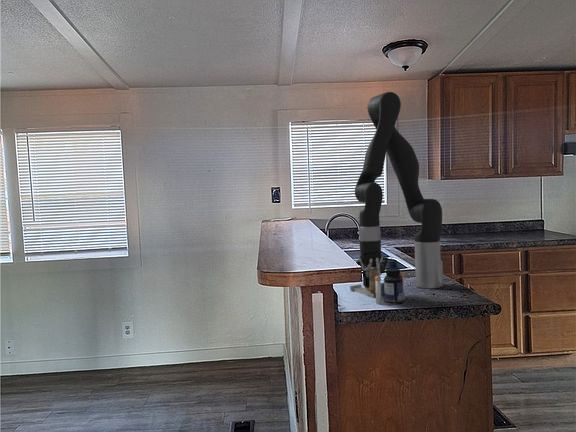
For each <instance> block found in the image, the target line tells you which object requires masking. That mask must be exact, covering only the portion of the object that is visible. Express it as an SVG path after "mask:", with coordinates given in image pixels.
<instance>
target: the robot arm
mask: <svg viewBox="0 0 576 432" xmlns="http://www.w3.org/2000/svg"><path fill="white" fill-rule="evenodd" d="M401 102H402V101H401V99H400V96H399V95H398V94H397V93H395V92H394V91H387V92H384V93H381V94H378V95H376V96H373V97H371V98H370V99H369V101H368V103H367V109H366V110H367V113H368V116H369V118H370V120H371V122H372V124H373V125H374V128H375V129H376V130H375V132H374V134H373V137H372V139H371V141H370V143H369V144H368V146H367V149H366V152H365V156H364V161H363V166H362V171H361V172H360V175H359V177H358V179H357V182H356V185H355V188H354V195H355V198H356V200H357V201H358V202H360V203H365V204H364V208H363V209H362V210H360V211H359V217H358V218H359V220H358V221H359V233H358V235H359V236H358V237H359V238H358V239H359V252H360V255H359V258H358V259H357V260H355V259H354V260H353V261H355V262H356V263H357V264H358V265H360V266H361V267H362V271H363V277H362V284H363V286H364V287H363V288H369V271H370V270H371V268H374V269H378V272H379V276H380V277H381V276H382V275H383V274H386V269H387V265H388V260H389V258H388V257H387V256H382V253H381V252H382V235H381V227H380V226H381V223H380V222H381V221H380V212H381V208H382V203H383V197H384V194H383V188H382V187H381V185H380V184H379V183H377V182H376V180H377V179H378V178H380V177H381V176H382V174H383V170H384V167H385V166H384V165H385V162H386V155H388V159H389V161H390V164H391V166H392V168H393V171H394V173H395V175H396V178H397V181H398V183H399V186H400V188H401V191H402V194H403V196H404V200H405V204H406V207H407V212H408V214H409V216H410V218H411V219H412V220H413V221H414V222H415V223H418V224H421V229H420V230H419V231H418V232H416V233H415V234H414V237H413V238H414V242H413V243H414V268H415V272H414V273H415V287H417V288H419V289H437V288H441V287H443V286H444V269H443V264H444V263H443V260H441V236H442V230H443V208H442V206H441V203H440V201H438V200H437V199H435V198H434V199H433V198H424V195H423V194H422V192H421V188H420V186H419V175H420V163H419V159H418V157H417V155H416V152H415V150H414V148H413V146H412V145H411V144H410V142H409V141H408V140H407V139H406V138H405V137H404V136H403V135H402V134H401V133H400V132H399V131H398V129H397V127H396V126H395V125H396V122H397V121H398V117H399V115H400V112H401V107H402V104H401Z"/></svg>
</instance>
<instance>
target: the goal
mask: <svg viewBox="0 0 576 432" xmlns="http://www.w3.org/2000/svg"><path fill="white" fill-rule="evenodd" d="M400 276H401V277H402V279H403V301H404V300H406V285H405V284H406V282H405V276H406V274H405V272H404V271H400ZM375 281H376V297H375V300H376V301H375V303H376V305H382V297H381V283H382V282H381V281H382V277H381V275H380V276H376V277H375Z"/></svg>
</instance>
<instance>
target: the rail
mask: <svg viewBox="0 0 576 432" xmlns="http://www.w3.org/2000/svg"><path fill="white" fill-rule="evenodd" d="M363 288H364V287H363V286H362V284H356V285H355V284H354V285H350V286H349V289H350V290H351V291H350V290H349V291H350V292H355V291H356V293H358V294H362V295H365V296H367V297H370V298H375V299H376V293H368V292H365V291H363Z"/></svg>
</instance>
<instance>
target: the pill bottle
mask: <svg viewBox="0 0 576 432" xmlns="http://www.w3.org/2000/svg"><path fill="white" fill-rule="evenodd" d="M400 272H401V269H400V268H386V269H385V274H386V275H385V276H384V278H383V283H384V294H385V296H384V302H385V303H386V304H388V305H389V304H390V305H399V304H403V303H404V300H403V279H402V277H401V276H400Z"/></svg>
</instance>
